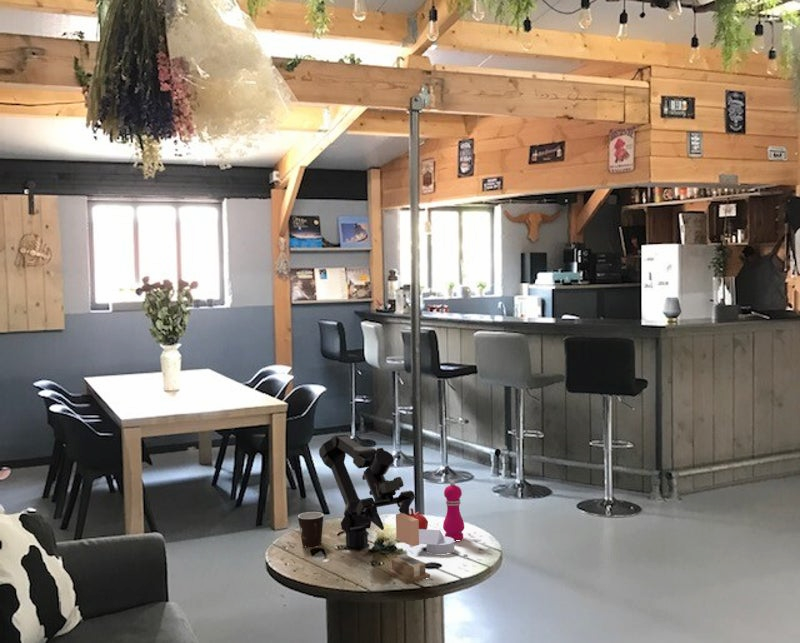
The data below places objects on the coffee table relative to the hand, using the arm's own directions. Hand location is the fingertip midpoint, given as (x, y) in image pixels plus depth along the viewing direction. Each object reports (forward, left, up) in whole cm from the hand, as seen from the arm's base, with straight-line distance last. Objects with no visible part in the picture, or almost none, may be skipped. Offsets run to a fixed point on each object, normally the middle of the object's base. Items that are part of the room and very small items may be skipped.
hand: (396, 526), depth 250 cm
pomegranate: (-12, +33, -14) cm, 38 cm away
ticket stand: (+6, -3, -13) cm, 15 cm away
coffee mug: (-38, +8, -14) cm, 41 cm away
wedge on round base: (+2, +21, -14) cm, 25 cm away
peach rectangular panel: (+6, -3, -3) cm, 7 cm away
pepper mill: (+3, +34, -14) cm, 37 cm away
